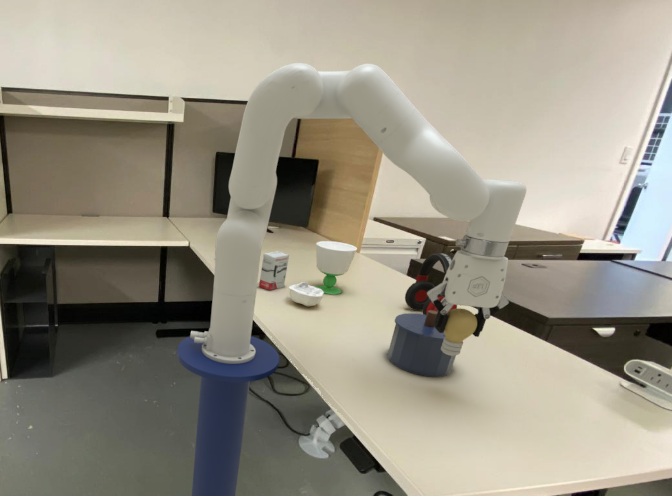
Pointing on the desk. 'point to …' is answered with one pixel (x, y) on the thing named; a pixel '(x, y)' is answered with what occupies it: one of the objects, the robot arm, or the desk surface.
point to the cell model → (305, 294)
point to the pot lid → (420, 324)
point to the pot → (419, 354)
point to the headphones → (426, 285)
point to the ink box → (273, 270)
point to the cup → (333, 262)
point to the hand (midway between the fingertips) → (456, 331)
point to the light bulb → (457, 330)
